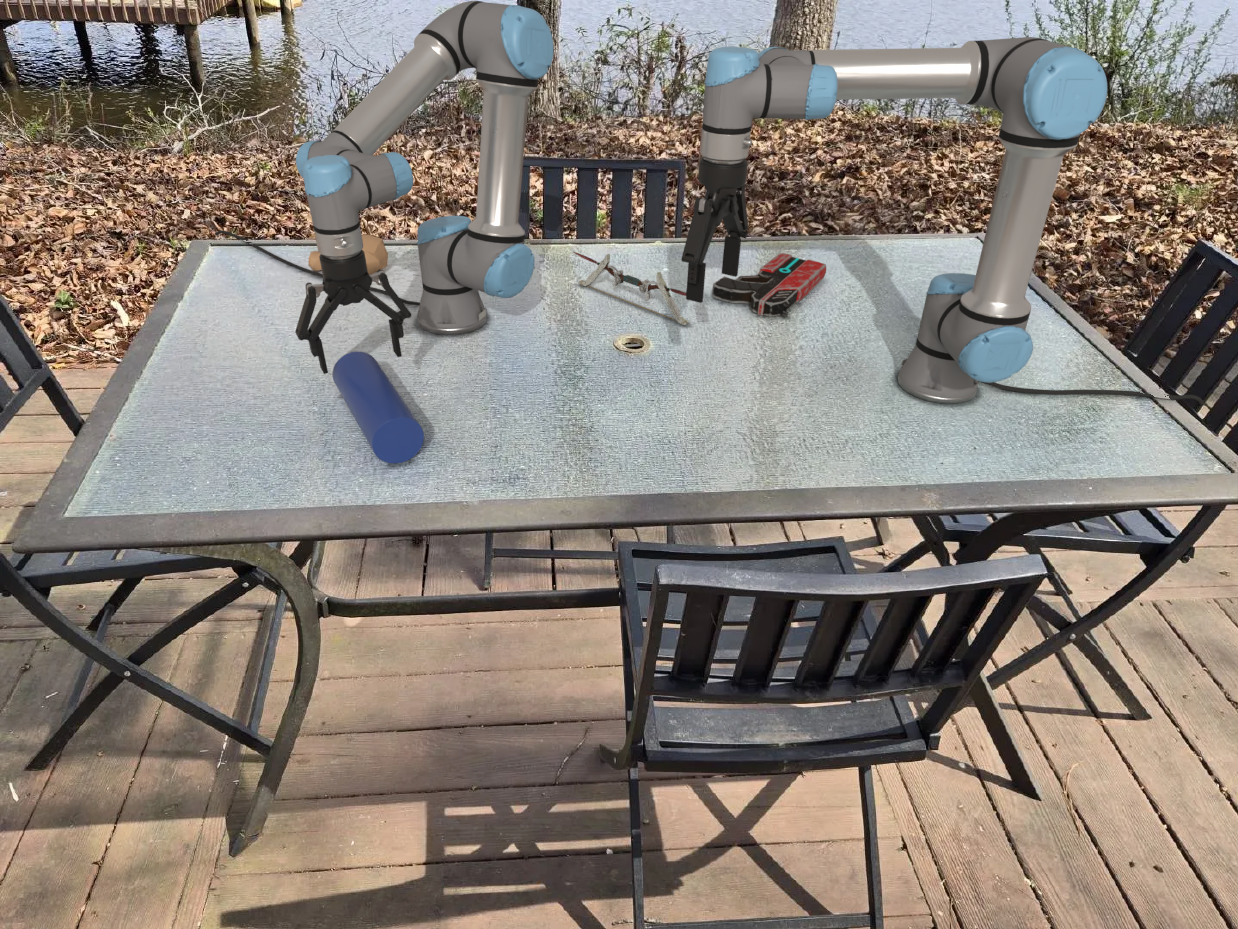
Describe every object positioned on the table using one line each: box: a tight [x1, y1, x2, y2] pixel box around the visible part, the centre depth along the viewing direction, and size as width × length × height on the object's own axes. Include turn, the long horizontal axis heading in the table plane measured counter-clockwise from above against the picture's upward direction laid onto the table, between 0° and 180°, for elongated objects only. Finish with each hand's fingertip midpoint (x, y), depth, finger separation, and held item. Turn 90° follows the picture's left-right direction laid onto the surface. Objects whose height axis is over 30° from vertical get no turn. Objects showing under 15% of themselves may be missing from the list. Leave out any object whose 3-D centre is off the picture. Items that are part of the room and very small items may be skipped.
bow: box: [573, 251, 690, 326], centre depth 205 cm, size 39×2×10 cm, turn 47°
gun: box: [711, 252, 827, 318], centre depth 215 cm, size 4×31×19 cm
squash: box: [308, 233, 389, 275], centre depth 218 cm, size 11×20×9 cm, turn 90°
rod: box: [332, 350, 425, 464], centre depth 157 cm, size 27×9×9 cm, turn 28°
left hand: (361, 362), depth 162 cm, fingers open, 13 cm apart
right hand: (712, 287), depth 148 cm, fingers open, 13 cm apart
